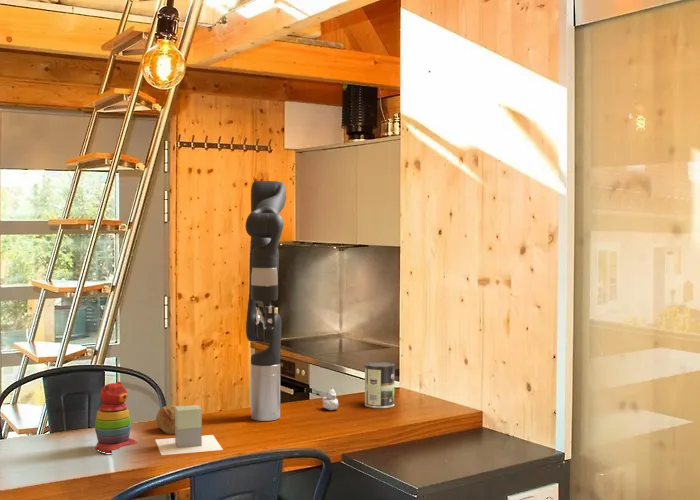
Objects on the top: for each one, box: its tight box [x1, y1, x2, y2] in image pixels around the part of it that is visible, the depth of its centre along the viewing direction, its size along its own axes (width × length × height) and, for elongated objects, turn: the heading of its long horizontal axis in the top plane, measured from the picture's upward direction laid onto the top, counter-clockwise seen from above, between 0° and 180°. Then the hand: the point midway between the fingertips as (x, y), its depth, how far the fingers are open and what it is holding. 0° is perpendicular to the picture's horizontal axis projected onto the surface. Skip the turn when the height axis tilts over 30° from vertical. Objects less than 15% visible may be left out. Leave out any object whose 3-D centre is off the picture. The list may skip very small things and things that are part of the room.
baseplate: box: [154, 434, 224, 456], centre depth 217 cm, size 16×16×1 cm
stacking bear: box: [94, 381, 139, 454], centre depth 217 cm, size 11×10×18 cm
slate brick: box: [174, 425, 203, 448], centre depth 217 cm, size 6×5×5 cm
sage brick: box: [175, 404, 203, 429], centre depth 217 cm, size 6×5×5 cm
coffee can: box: [364, 361, 396, 409], centre depth 271 cm, size 10×10×14 cm
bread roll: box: [155, 404, 180, 435], centre depth 234 cm, size 10×15×8 cm, turn 27°
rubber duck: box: [322, 386, 339, 411], centre depth 265 cm, size 5×7×8 cm
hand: (264, 340), depth 227 cm, fingers open, 8 cm apart
